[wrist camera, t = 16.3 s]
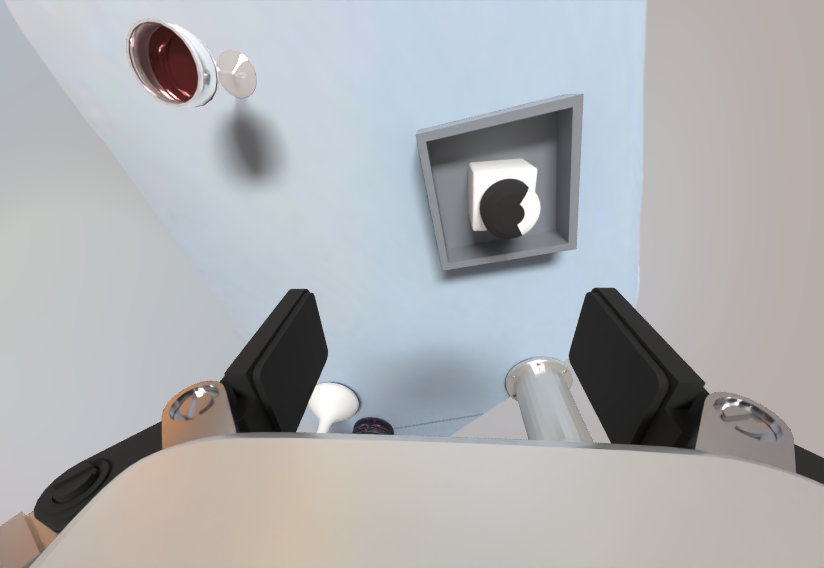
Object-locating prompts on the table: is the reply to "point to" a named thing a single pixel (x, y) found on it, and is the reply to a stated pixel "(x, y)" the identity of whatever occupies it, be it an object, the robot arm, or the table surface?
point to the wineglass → (184, 65)
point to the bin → (501, 140)
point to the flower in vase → (332, 404)
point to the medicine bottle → (503, 197)
